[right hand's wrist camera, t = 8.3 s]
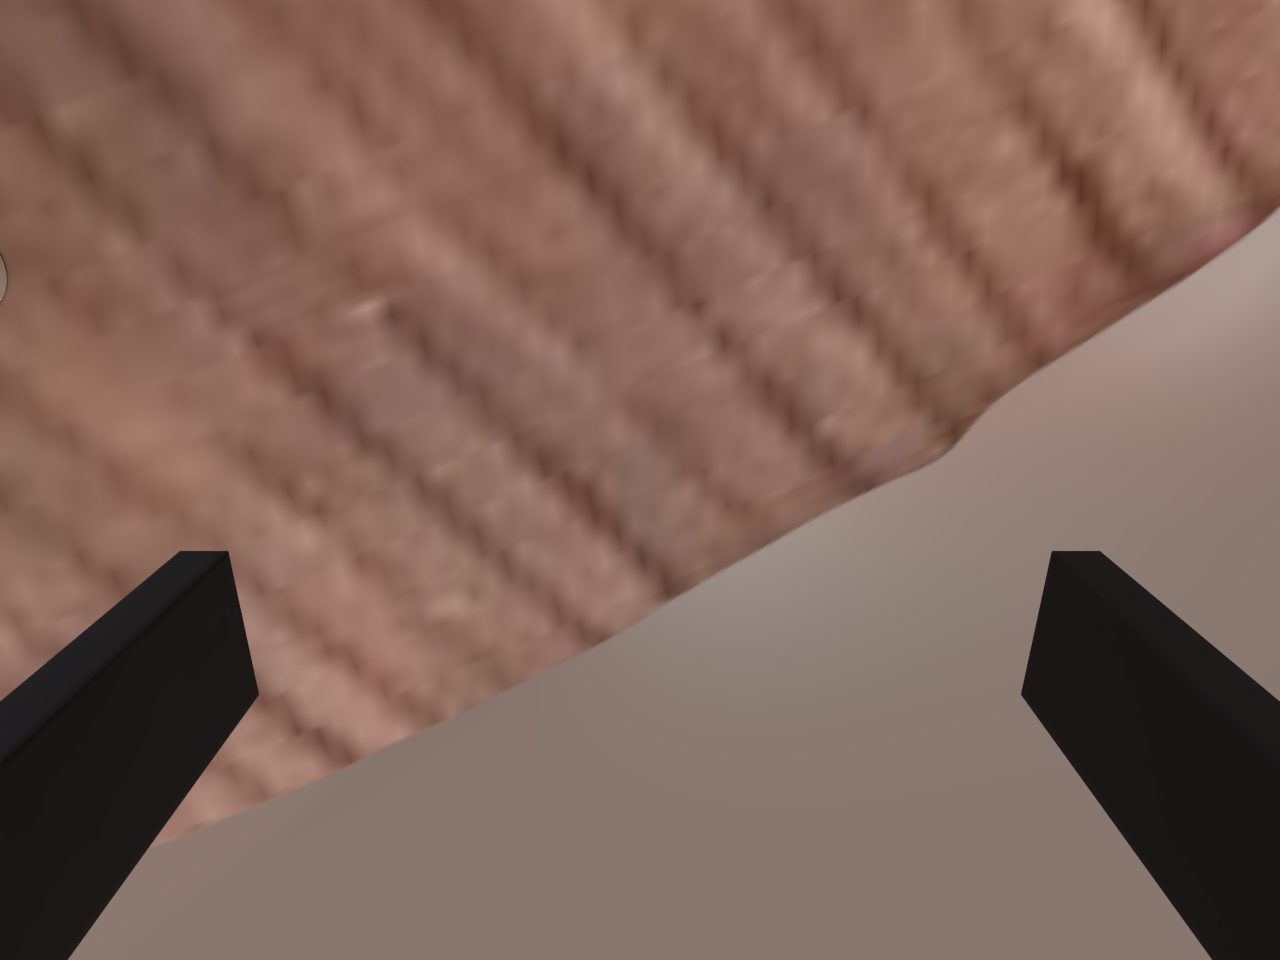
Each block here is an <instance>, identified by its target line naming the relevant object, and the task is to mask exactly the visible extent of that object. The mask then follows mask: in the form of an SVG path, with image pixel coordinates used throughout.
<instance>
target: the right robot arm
mask: <svg viewBox="0 0 1280 960" xmlns="http://www.w3.org/2000/svg"><path fill="white" fill-rule="evenodd" d="M258 695H259V692H258V688H257V683H256V678H255V674H254V669H253V664H252V660H251V655H250V651H249V646H248V641H247V637H246V632H245V627H244V623H243V618H242V613H241V609H240V604H239V599H238V595H237V590H236V585H235V581H234V576H233V571H232V567H231V562H230V558H229V553H228V551H180V552H178V553H177V554H176V555H175V556H174V557H172V558H171V559H170V560H169V561H168V562H166V563H165V564H164V565H163V566H162V567H161V568H159V569H158V570H157V571H156V572H155V573H153V574H152V575H151V576H150V577H149V578H147V579H146V580H145V581H144V582H143V583H141V584H140V585H139V586H138V587H137V588H135V589H134V590H133V591H132V592H131V593H129V594H128V595H127V596H126V597H125V598H123V599H122V600H121V601H120V602H119V603H117V604H116V605H115V606H114V607H113V608H112V609H110V610H109V611H108V612H107V613H106V614H104V615H103V616H102V617H101V618H100V619H98V620H97V621H96V622H95V623H94V624H92V625H91V626H90V627H89V628H88V629H86V630H85V631H84V632H83V633H82V634H80V635H79V636H78V637H77V638H76V639H74V640H73V641H72V642H71V643H70V644H68V645H67V646H66V647H65V648H64V649H63V650H61V651H60V652H59V653H58V654H57V655H55V656H54V657H53V658H52V659H51V660H49V661H48V662H47V663H46V664H45V665H43V666H42V667H41V668H40V669H39V670H37V671H36V672H35V673H34V674H33V675H31V676H30V677H29V678H28V679H27V680H25V681H24V682H23V683H22V684H21V685H19V686H18V687H17V688H16V689H15V690H14V691H12V692H11V693H10V694H9V695H8V696H6V697H5V698H4V699H3V700H2V701H0V960H68V959H69V957H70V956H71V954H72V953H73V952H74V950H75V949H76V947H77V946H78V945H79V943H80V942H81V941H82V939H83V938H84V936H85V935H86V934H87V932H88V931H89V930H90V928H91V927H92V925H93V924H94V923H95V921H96V920H97V918H98V917H99V916H100V914H101V913H102V911H103V910H104V909H105V907H106V906H107V905H108V903H109V902H110V900H111V899H112V898H113V896H114V895H115V893H116V892H117V891H118V889H119V888H120V887H121V885H122V884H123V882H124V881H125V880H126V878H127V877H128V875H129V874H130V873H131V871H132V870H133V868H134V867H135V866H136V864H137V863H138V862H139V860H140V859H141V857H142V856H143V855H144V853H145V852H146V850H147V849H148V848H149V846H150V845H151V844H152V842H153V841H154V839H155V838H156V837H157V835H158V834H159V832H160V831H161V830H162V828H163V827H164V826H165V824H166V823H167V821H168V820H169V819H170V817H171V816H172V814H173V813H174V812H175V810H176V809H177V808H178V806H179V805H180V803H181V802H182V801H183V799H184V798H185V796H186V795H187V794H188V792H189V791H190V790H191V788H192V787H193V785H194V784H195V783H196V781H197V780H198V778H199V777H200V776H201V774H202V773H203V771H204V770H205V769H206V767H207V766H208V765H209V763H210V762H211V760H212V759H213V758H214V756H215V755H216V753H217V752H218V751H219V749H220V748H221V747H222V745H223V744H224V742H225V741H226V740H227V738H228V737H229V735H230V734H231V733H232V731H233V730H234V729H235V727H236V726H237V724H238V723H239V722H240V720H241V719H242V717H243V716H244V715H245V713H246V712H247V710H248V709H249V708H250V706H251V705H252V704H253V702H254V701H255V699H256V698H257V697H258ZM1021 695H1022V697H1023V698H1024V699H1025V701H1026V702H1027V704H1028V705H1029V706H1030V708H1031V709H1032V710H1033V712H1034V713H1035V715H1036V716H1037V717H1038V719H1039V720H1040V722H1041V723H1042V724H1043V726H1044V727H1045V729H1046V730H1047V731H1048V733H1049V734H1050V735H1051V737H1052V738H1053V740H1054V741H1055V742H1056V744H1057V745H1058V747H1059V748H1060V749H1061V751H1062V752H1063V753H1064V755H1065V756H1066V758H1067V759H1068V760H1069V762H1070V763H1071V765H1072V766H1073V767H1074V769H1075V770H1076V771H1077V773H1078V774H1079V776H1080V777H1081V778H1082V780H1083V781H1084V783H1085V784H1086V785H1087V787H1088V788H1089V790H1090V791H1091V792H1092V794H1093V795H1094V796H1095V798H1096V799H1097V801H1098V802H1099V803H1100V805H1101V806H1102V807H1103V809H1104V810H1105V812H1106V813H1107V814H1108V816H1109V817H1110V819H1111V820H1112V821H1113V823H1114V824H1115V826H1116V827H1117V828H1118V830H1119V831H1120V832H1121V834H1122V835H1123V837H1124V838H1125V839H1126V841H1127V842H1128V844H1129V845H1130V846H1131V848H1132V849H1133V851H1134V852H1135V853H1136V855H1137V856H1138V857H1139V859H1140V860H1141V862H1142V863H1143V864H1144V866H1145V867H1146V869H1147V870H1148V871H1149V873H1150V874H1151V875H1152V877H1153V878H1154V880H1155V881H1156V882H1157V884H1158V885H1159V887H1160V888H1161V889H1162V891H1163V892H1164V893H1165V895H1166V896H1167V898H1168V899H1169V900H1170V902H1171V903H1172V905H1173V906H1174V907H1175V909H1176V910H1177V911H1178V913H1179V914H1180V916H1181V917H1182V918H1183V920H1184V921H1185V923H1186V924H1187V925H1188V927H1189V928H1190V929H1191V931H1192V932H1193V934H1194V935H1195V936H1196V938H1197V939H1198V941H1199V942H1200V943H1201V945H1202V946H1203V947H1204V949H1205V950H1206V952H1207V953H1208V954H1209V956H1210V957H1211V959H1212V960H1280V701H1278V700H1277V699H1276V698H1275V697H1274V696H1272V695H1271V694H1270V693H1269V692H1268V691H1266V690H1265V689H1264V688H1263V687H1262V686H1261V685H1259V684H1258V683H1257V682H1256V681H1255V680H1253V679H1252V678H1251V677H1250V676H1249V675H1247V674H1246V673H1245V672H1244V671H1243V670H1241V669H1240V668H1239V667H1238V666H1237V665H1235V664H1234V663H1233V662H1232V661H1231V660H1229V659H1228V658H1227V657H1226V656H1225V655H1223V654H1222V653H1221V652H1220V651H1219V650H1217V649H1216V648H1215V647H1214V646H1213V645H1211V644H1210V643H1209V642H1208V641H1207V640H1206V639H1204V638H1203V637H1202V636H1201V635H1199V634H1198V633H1197V632H1196V631H1195V630H1194V629H1192V628H1191V627H1190V626H1189V625H1188V624H1186V623H1185V622H1184V621H1183V620H1182V619H1180V618H1179V617H1178V616H1177V615H1176V614H1174V613H1173V612H1172V611H1171V610H1170V609H1168V608H1167V607H1166V606H1165V605H1164V604H1162V603H1161V602H1160V601H1159V600H1158V599H1156V598H1155V597H1154V596H1153V595H1152V594H1151V593H1149V592H1148V591H1147V590H1146V589H1145V588H1143V587H1142V586H1141V585H1140V584H1139V583H1137V582H1136V581H1135V580H1134V579H1133V578H1131V577H1130V576H1129V575H1128V574H1127V573H1125V572H1124V571H1123V570H1122V569H1121V568H1119V567H1118V566H1117V565H1116V564H1115V563H1113V562H1112V561H1111V560H1110V559H1109V558H1108V557H1106V556H1105V555H1104V554H1103V553H1102V552H1100V551H1052V553H1051V558H1050V562H1049V567H1048V571H1047V576H1046V581H1045V585H1044V590H1043V595H1042V599H1041V604H1040V609H1039V613H1038V618H1037V623H1036V627H1035V632H1034V637H1033V641H1032V646H1031V651H1030V655H1029V660H1028V664H1027V669H1026V674H1025V679H1024V683H1023V688H1022V692H1021Z"/></svg>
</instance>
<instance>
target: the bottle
mask: <svg viewBox="0 0 1280 960" xmlns="http://www.w3.org/2000/svg"><path fill="white" fill-rule="evenodd" d="M6 286H7V274H6V269H5V265H4V262H3V259H2V257H1V255H0V302H1V300H2V298H3V296H4V294H5V291H6Z"/></svg>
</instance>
